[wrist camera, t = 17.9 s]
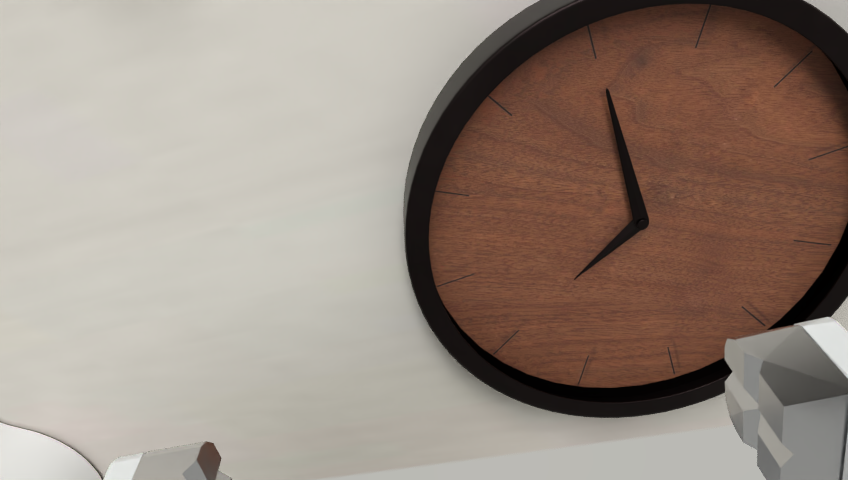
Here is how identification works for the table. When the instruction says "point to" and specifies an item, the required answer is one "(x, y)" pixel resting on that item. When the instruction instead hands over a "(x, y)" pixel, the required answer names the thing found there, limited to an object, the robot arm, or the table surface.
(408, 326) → the table surface
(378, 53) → the table surface
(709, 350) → the wall clock
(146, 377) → the table surface
